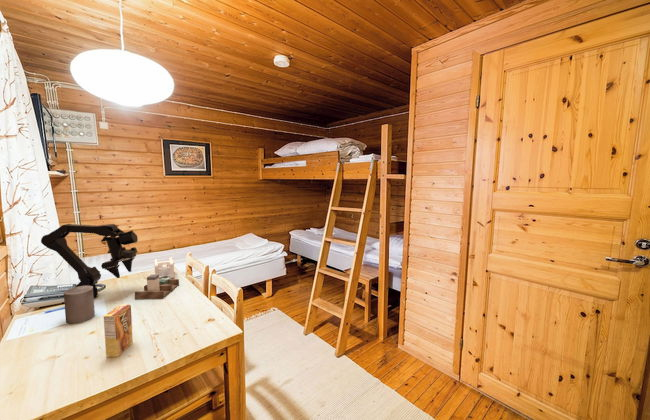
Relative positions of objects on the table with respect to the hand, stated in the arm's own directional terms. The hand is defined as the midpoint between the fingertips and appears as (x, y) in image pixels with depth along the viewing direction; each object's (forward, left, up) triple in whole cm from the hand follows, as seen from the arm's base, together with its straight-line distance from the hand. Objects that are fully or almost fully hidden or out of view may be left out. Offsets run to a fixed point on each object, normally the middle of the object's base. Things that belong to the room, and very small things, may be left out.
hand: (124, 274), depth 144 cm
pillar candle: (-20, -16, -12) cm, 28 cm away
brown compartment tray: (+13, -8, -11) cm, 19 cm away
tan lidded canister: (+10, -12, -10) cm, 19 cm away
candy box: (-14, -56, -12) cm, 59 cm away
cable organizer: (+24, +14, -12) cm, 30 cm away
